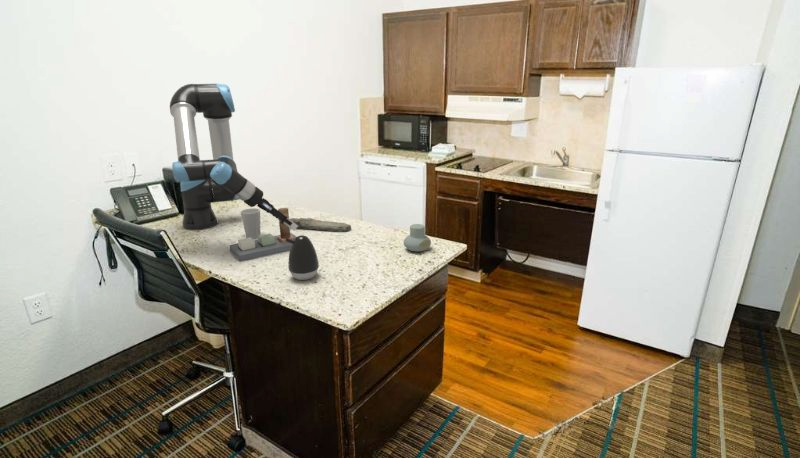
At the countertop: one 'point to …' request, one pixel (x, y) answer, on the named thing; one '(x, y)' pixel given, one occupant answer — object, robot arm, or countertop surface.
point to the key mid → (266, 239)
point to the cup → (251, 222)
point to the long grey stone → (320, 225)
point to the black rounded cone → (302, 258)
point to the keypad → (260, 249)
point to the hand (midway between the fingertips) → (293, 226)
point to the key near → (246, 243)
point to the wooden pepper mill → (284, 228)
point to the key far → (284, 239)
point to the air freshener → (417, 239)
